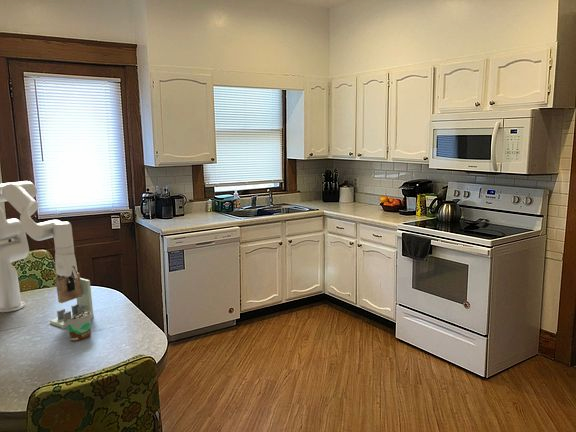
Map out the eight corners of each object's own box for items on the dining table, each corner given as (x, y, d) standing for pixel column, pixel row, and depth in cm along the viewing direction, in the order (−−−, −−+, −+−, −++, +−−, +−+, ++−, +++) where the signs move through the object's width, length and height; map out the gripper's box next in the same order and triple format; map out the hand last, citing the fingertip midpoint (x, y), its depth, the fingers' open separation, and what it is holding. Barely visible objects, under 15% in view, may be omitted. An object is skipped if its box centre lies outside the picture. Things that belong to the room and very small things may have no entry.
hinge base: (63, 328, 215) (58, 289, 211) (50, 323, 220) (45, 285, 217) (93, 316, 227) (90, 280, 223) (80, 312, 232) (76, 276, 229)
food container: (82, 344, 199) (79, 320, 197) (68, 343, 200) (66, 320, 198) (99, 331, 211) (97, 309, 209) (86, 330, 212) (84, 308, 210)
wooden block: (62, 303, 216) (59, 279, 214) (58, 302, 218) (55, 278, 216) (82, 296, 224) (80, 273, 222) (79, 295, 226) (76, 272, 224)
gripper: (46, 249, 219) (51, 289, 222) (67, 254, 210) (72, 295, 213) (62, 246, 225) (66, 284, 228) (83, 250, 216) (87, 290, 219)
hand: (69, 289), depth 221 cm, fingers closed on wooden block, 2 cm apart
